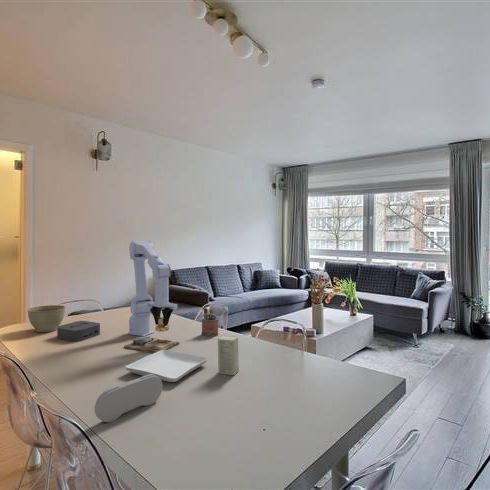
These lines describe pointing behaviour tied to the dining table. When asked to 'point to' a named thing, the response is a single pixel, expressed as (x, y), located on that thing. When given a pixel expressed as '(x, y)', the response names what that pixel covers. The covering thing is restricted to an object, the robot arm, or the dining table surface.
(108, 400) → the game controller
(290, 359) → the dining table surface
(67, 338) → the streaming box
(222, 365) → the skincare box
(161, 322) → the brass gear
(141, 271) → the robot arm
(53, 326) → the planter bowl
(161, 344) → the gear board
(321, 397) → the dining table surface
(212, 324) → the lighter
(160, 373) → the salad plate
